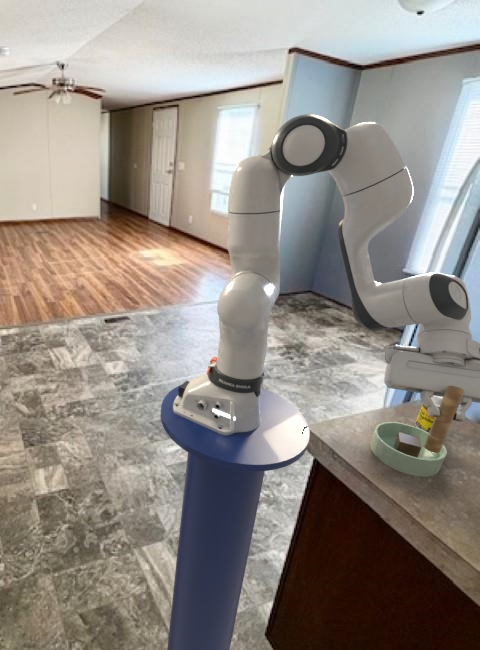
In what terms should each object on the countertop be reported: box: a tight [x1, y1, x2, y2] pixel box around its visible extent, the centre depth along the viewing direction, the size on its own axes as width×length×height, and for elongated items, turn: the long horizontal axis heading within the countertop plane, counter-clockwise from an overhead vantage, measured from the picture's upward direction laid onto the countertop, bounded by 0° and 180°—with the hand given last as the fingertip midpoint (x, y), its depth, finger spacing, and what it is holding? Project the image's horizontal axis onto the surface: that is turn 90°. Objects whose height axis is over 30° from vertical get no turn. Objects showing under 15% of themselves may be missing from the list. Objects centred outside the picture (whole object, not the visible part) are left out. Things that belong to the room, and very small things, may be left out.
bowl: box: [370, 421, 448, 478], centre depth 96 cm, size 13×13×4 cm
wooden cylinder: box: [424, 386, 464, 453], centre depth 82 cm, size 3×3×14 cm
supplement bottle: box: [414, 395, 443, 433], centre depth 104 cm, size 6×6×10 cm
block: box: [394, 432, 421, 458], centre depth 96 cm, size 4×4×4 cm
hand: (446, 418), depth 81 cm, fingers closed on wooden cylinder, 2 cm apart
